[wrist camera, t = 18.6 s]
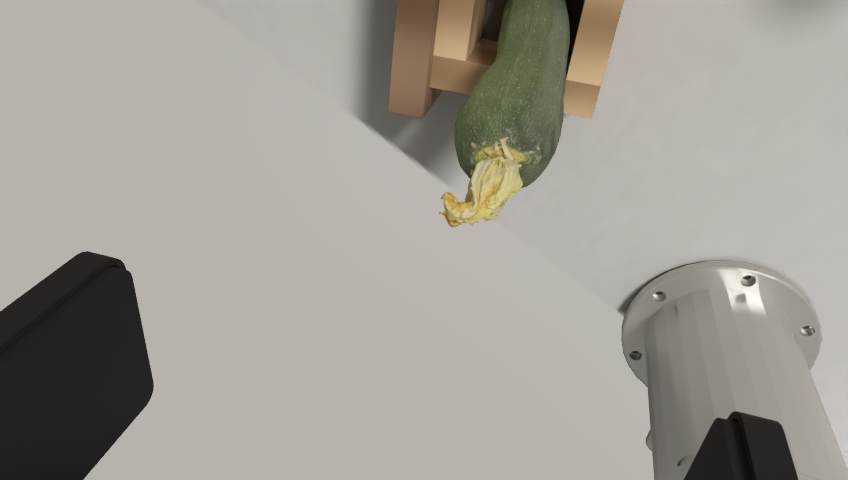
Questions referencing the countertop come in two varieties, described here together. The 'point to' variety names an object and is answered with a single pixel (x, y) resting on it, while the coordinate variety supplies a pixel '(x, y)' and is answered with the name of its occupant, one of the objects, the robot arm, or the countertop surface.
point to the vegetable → (513, 110)
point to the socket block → (472, 55)
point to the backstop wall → (413, 58)
